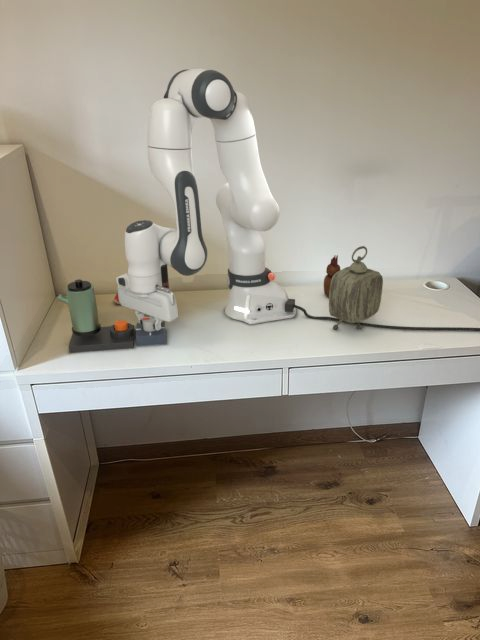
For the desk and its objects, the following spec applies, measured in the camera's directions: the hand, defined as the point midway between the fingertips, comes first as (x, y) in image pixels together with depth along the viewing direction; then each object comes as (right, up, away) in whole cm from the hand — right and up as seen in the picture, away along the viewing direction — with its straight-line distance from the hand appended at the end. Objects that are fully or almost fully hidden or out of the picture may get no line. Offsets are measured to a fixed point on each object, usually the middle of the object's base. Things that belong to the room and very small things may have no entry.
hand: (150, 326), depth 155 cm
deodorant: (0, +6, +19) cm, 20 cm away
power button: (-8, -1, -1) cm, 8 cm away
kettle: (-19, -1, -2) cm, 19 cm away
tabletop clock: (+60, 0, +9) cm, 60 cm away
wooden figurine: (+56, +11, +29) cm, 64 cm away
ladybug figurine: (-13, +10, +25) cm, 30 cm away
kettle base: (-13, -4, 0) cm, 14 cm away
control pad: (0, -3, +2) cm, 4 cm away
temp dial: (0, -1, 0) cm, 1 cm away
